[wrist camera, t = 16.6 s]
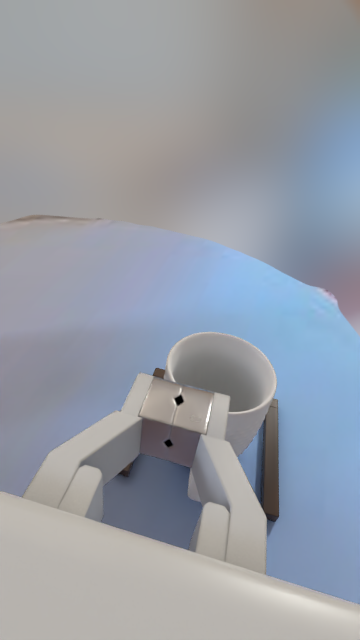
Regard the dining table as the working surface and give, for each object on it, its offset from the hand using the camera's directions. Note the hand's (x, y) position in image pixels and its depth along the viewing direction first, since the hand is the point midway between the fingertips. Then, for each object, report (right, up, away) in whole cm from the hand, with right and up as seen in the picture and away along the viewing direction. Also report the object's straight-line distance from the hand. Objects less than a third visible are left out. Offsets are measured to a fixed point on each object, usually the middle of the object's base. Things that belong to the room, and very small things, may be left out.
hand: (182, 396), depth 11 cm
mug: (+2, -13, +29) cm, 32 cm away
